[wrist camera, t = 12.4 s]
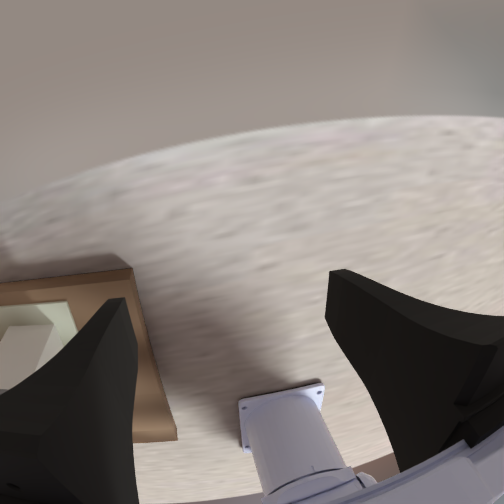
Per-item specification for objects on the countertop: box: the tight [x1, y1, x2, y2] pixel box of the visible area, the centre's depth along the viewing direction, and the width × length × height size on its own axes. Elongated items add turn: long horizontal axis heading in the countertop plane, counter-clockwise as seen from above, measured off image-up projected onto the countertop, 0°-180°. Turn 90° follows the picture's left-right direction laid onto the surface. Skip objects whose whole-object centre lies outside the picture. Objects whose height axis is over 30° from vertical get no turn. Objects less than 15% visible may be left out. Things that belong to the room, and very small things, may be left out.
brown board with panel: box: [0, 268, 178, 443], centre depth 21 cm, size 17×16×2 cm
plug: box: [0, 324, 64, 395], centre depth 15 cm, size 4×4×7 cm
